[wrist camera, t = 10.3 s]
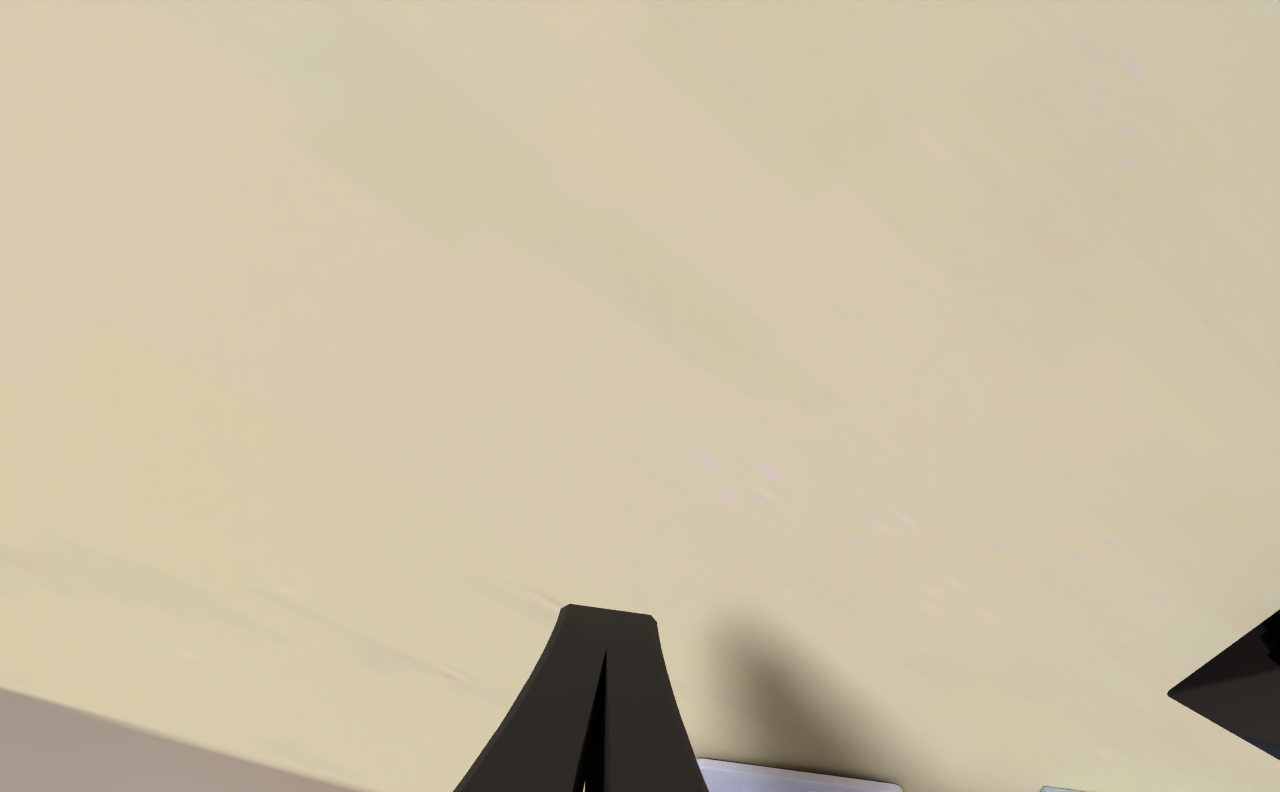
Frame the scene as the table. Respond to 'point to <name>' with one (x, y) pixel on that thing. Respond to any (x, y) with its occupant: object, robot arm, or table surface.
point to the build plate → (1241, 687)
